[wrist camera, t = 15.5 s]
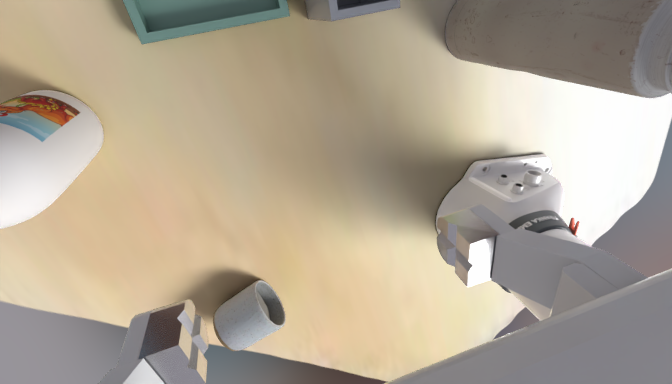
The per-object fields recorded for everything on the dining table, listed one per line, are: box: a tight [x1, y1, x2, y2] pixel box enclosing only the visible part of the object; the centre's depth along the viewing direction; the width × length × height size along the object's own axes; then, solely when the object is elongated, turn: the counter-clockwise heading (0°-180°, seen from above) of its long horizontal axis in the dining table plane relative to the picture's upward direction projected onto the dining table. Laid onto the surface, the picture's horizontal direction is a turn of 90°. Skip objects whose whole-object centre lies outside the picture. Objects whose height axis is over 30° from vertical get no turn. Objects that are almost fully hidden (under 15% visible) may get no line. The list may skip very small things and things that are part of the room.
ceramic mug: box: [213, 280, 285, 351], centre depth 49 cm, size 11×8×8 cm
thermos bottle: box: [445, 0, 672, 98], centre depth 29 cm, size 8×8×28 cm
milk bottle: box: [0, 90, 104, 229], centre depth 25 cm, size 8×8×20 cm
